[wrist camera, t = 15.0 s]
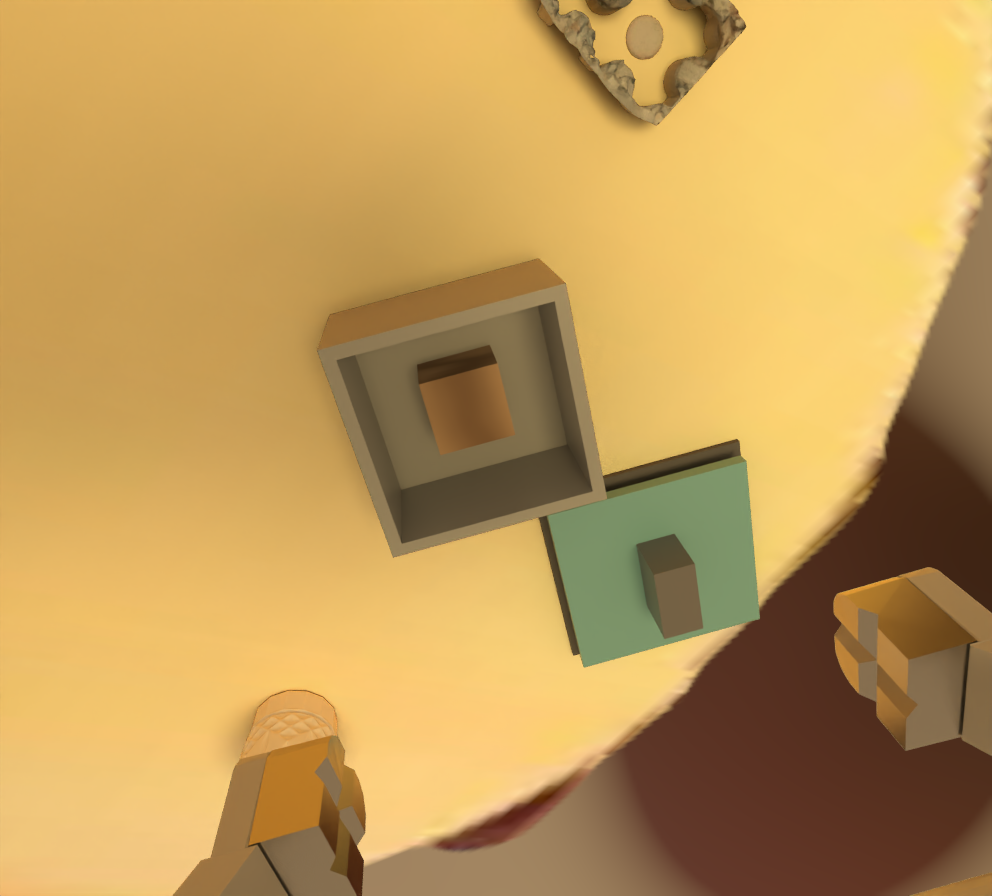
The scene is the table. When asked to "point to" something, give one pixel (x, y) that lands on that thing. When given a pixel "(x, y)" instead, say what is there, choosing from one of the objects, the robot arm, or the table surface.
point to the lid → (659, 561)
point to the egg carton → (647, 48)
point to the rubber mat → (632, 478)
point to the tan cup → (289, 722)
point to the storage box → (406, 425)
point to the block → (465, 399)
